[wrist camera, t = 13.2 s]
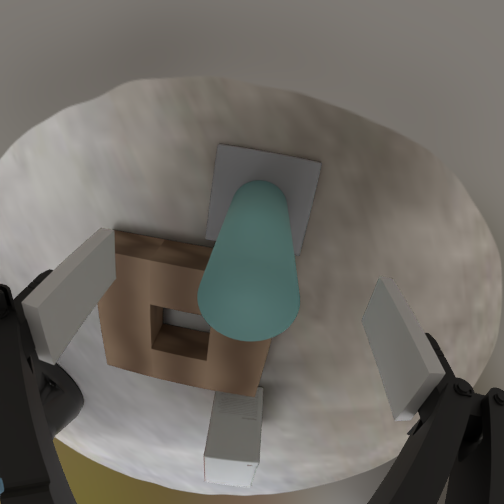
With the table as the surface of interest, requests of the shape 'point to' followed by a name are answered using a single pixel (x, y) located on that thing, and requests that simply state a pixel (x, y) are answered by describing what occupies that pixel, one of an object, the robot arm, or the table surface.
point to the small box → (234, 439)
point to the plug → (252, 268)
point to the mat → (267, 169)
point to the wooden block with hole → (168, 336)
